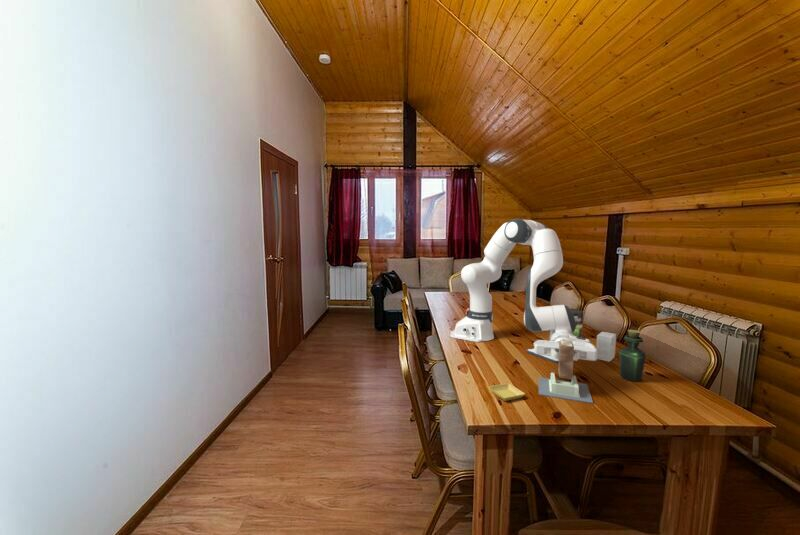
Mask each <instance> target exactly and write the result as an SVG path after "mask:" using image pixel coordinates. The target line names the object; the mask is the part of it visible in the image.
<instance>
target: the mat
mask: <svg viewBox="0 0 800 535" xmlns="http://www.w3.org/2000/svg"><path fill="white" fill-rule="evenodd" d="M537 380H538V395H539V396H544V397H551V398H556V399H562V400H569V401H575V402H578V403H579V402H580V403H586V404H594V401H593V398H592V395H591V393H590V389H589V386H588V384H587V383H581V382H577V383H578V387H579V394H580V398H578V397H572V396H566V395H560V394H554V393H550V389H549V380H550V378H547V377H539V376H538V379H537ZM555 381H562V382H569V383H571V381H568V380H567V381H566V380H559V379H555Z"/></svg>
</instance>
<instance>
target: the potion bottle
mask: <svg viewBox="0 0 800 535" xmlns="http://www.w3.org/2000/svg"><path fill="white" fill-rule="evenodd" d="M640 335H641V331H640V330H636V329H627V335H626V334H625V336H624V337H623V339H624V340H625V341H627V346H625V347H622V348H621V349H620V350H619V352H618V354H619V375H620V377H621V378H622V379H624V380H626V381H629V382H640V381H642V379H643V374H644V369H645V362H646V358H647V355H646V353H645V352H644V351H643V350H641V349H640V348H639V346H640V343H644V340H643V338H642V337H641V336H640Z"/></svg>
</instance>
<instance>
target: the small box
mask: <svg viewBox="0 0 800 535" xmlns="http://www.w3.org/2000/svg"><path fill="white" fill-rule="evenodd" d="M616 342H617V333H612V332H606V331H601V332H599V333H598V334H596V344H595V345H596V347H595V348H596V349H597V360H600V361H604V362H611V361H612V360H613V359H615V355H616Z"/></svg>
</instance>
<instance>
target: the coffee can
mask: <svg viewBox="0 0 800 535" xmlns="http://www.w3.org/2000/svg"><path fill="white" fill-rule="evenodd" d="M570 309H571V310H572V313H573V315H574V318H575V323H576V329H575V331H574V333H572V334H573V336H576V337H580V338H583V334H582V333H583V322H584V321H583V320H584V311H583V310H581V309H577V308H570Z"/></svg>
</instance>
